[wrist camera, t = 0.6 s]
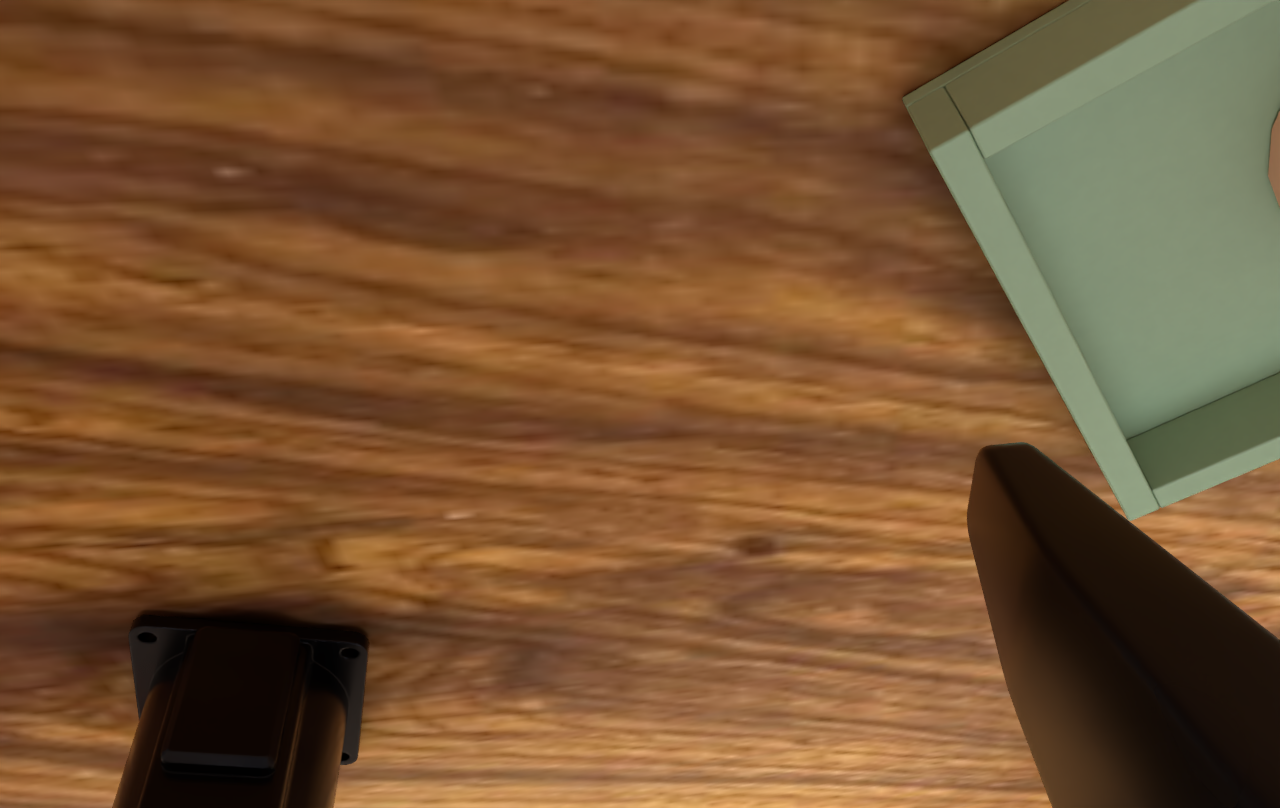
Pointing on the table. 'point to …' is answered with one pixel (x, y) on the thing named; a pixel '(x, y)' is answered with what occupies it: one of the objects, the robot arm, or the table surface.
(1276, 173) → the pepper shaker
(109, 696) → the table surface
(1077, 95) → the tray
